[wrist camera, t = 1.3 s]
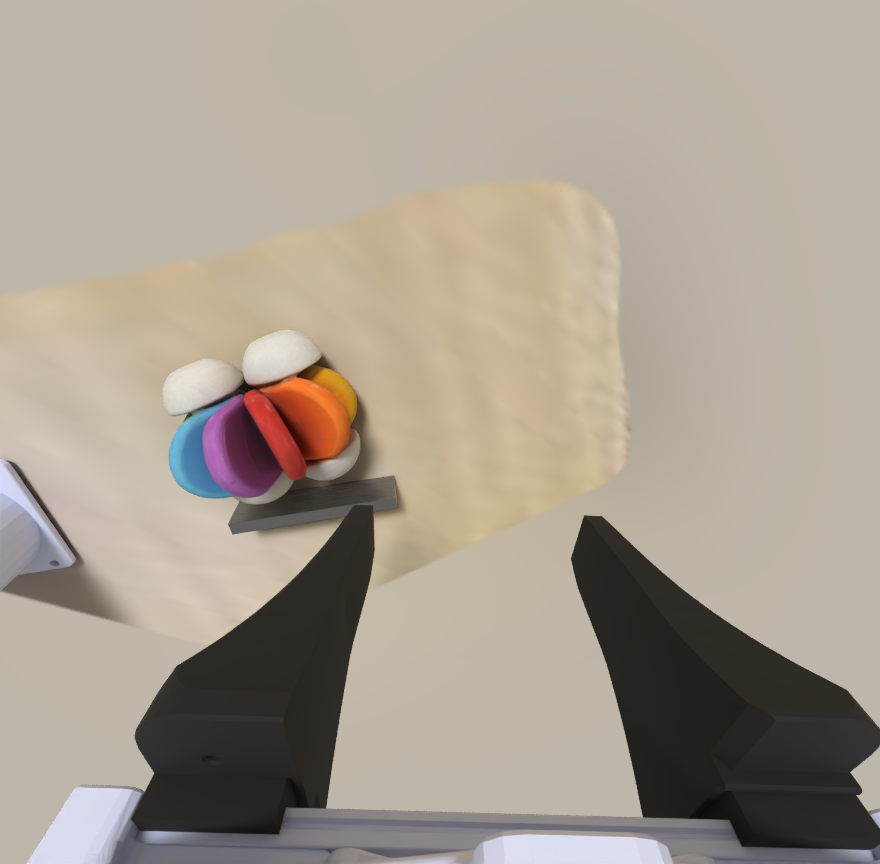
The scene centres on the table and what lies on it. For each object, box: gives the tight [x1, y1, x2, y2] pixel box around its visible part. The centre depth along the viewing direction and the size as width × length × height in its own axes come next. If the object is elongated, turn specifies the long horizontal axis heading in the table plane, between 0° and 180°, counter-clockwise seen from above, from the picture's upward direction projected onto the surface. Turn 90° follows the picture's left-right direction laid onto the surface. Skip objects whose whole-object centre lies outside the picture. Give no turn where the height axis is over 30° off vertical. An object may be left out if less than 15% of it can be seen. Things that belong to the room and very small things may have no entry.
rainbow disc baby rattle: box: [162, 330, 360, 504], centre depth 20 cm, size 8×10×7 cm
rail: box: [228, 476, 397, 534], centre depth 25 cm, size 10×1×2 cm, turn 95°
